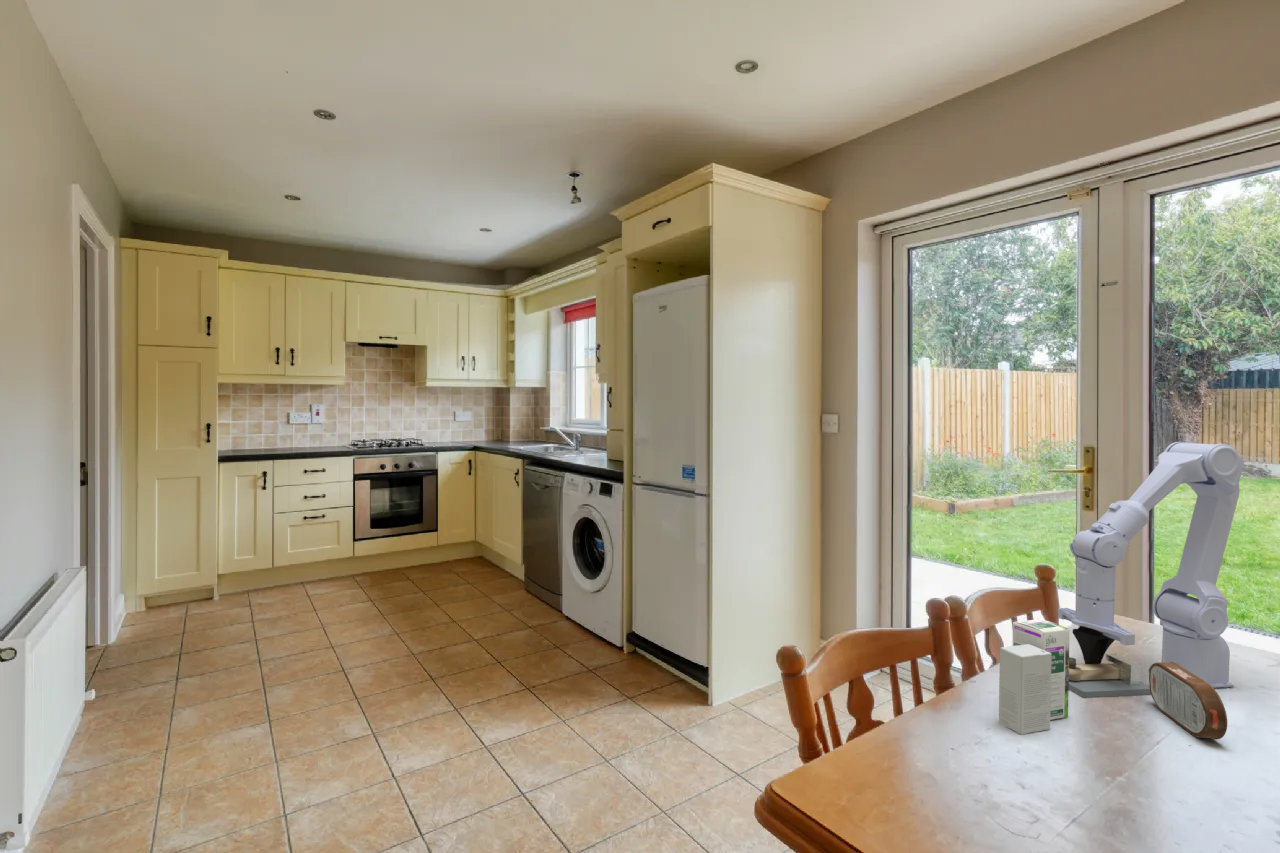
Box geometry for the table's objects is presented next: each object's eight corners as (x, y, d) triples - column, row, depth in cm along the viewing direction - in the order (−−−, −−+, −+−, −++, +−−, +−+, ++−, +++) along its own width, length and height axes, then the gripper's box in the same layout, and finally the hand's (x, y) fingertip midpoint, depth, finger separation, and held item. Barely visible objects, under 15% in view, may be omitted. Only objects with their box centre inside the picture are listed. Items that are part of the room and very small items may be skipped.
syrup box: (1042, 723, 98) (1045, 631, 98) (1009, 706, 104) (1012, 619, 104) (1068, 718, 100) (1071, 628, 100) (1034, 701, 106) (1037, 616, 105)
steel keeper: (1114, 673, 116) (1115, 653, 116) (1140, 685, 111) (1141, 664, 111) (1104, 673, 116) (1105, 653, 115) (1130, 685, 110) (1131, 665, 110)
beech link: (1069, 681, 111) (1070, 662, 111) (1056, 674, 114) (1057, 655, 114) (1132, 679, 113) (1133, 660, 113) (1118, 672, 116) (1118, 654, 116)
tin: (1228, 750, 91) (1231, 693, 91) (1203, 747, 92) (1206, 691, 92) (1164, 703, 106) (1166, 654, 106) (1143, 701, 107) (1145, 653, 106)
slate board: (1100, 668, 120) (1101, 663, 120) (1155, 694, 109) (1155, 688, 109) (1035, 671, 118) (1035, 666, 118) (1083, 697, 108) (1083, 691, 108)
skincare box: (1026, 717, 100) (1028, 643, 100) (1050, 730, 96) (1053, 653, 96) (996, 721, 98) (998, 646, 98) (1020, 735, 94) (1022, 656, 94)
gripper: (1045, 586, 122) (1042, 655, 122) (1110, 609, 107) (1107, 687, 108) (1077, 585, 123) (1075, 653, 123) (1146, 608, 108) (1143, 686, 109)
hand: (1092, 669), depth 115 cm, fingers closed
